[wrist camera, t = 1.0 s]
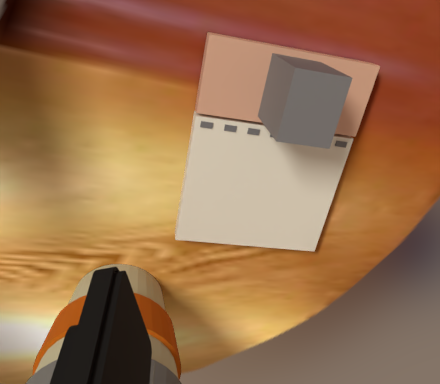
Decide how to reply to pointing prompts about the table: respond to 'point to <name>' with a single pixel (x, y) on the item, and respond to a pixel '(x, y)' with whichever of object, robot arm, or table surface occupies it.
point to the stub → (284, 89)
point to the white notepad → (256, 186)
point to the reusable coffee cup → (152, 316)
